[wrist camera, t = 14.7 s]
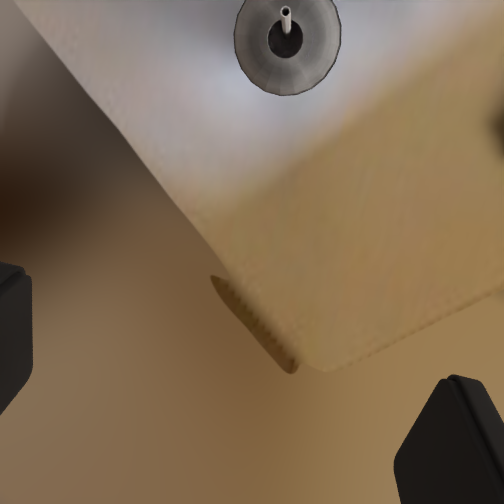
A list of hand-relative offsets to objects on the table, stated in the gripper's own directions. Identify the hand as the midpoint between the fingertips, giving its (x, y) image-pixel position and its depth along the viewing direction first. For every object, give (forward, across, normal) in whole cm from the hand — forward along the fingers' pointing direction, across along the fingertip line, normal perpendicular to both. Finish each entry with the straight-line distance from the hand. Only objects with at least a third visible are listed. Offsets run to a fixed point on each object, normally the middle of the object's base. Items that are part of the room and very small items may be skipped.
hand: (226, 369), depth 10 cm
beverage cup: (+36, +1, -7) cm, 37 cm away
